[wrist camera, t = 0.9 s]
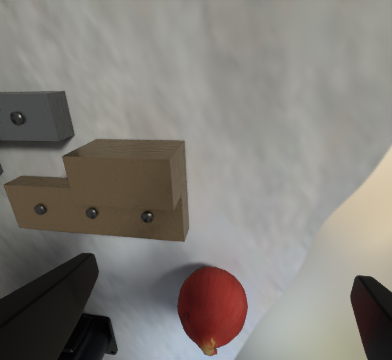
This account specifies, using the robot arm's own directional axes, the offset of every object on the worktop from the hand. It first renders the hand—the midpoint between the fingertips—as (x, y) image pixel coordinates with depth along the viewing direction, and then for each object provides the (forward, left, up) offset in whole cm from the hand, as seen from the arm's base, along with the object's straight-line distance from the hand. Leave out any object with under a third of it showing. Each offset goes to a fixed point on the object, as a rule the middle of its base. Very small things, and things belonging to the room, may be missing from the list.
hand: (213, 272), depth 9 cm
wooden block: (-3, +12, -12) cm, 17 cm away
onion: (-12, +1, -13) cm, 17 cm away
